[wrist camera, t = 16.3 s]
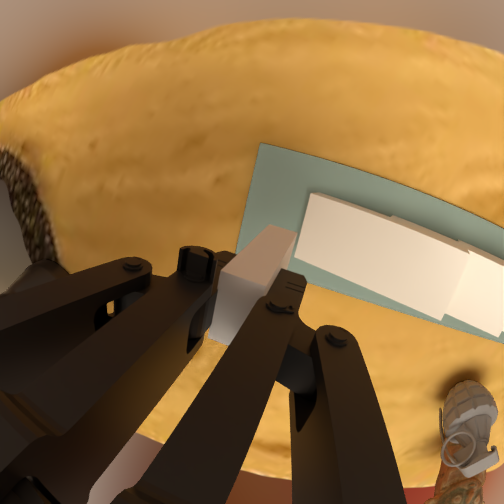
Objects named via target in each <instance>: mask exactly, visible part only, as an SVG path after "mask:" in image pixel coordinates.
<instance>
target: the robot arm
mask: <svg viewBox="0 0 504 504" xmlns="http://www.w3.org/2000/svg"><path fill="white" fill-rule="evenodd" d="M296 237H297V232H294V231H290V230H287V229H284V228H281V227H277V226H274V225H271V224H269V225H268V226H267V227H266V228H265V229H264V230H263V231H262V232H261V233H259V234H258V235H257V236H256V237H255V238H254V239H253V240H252V241H251V242H250V243H249V244H248V245H247V246H246V247H245V248H244V249H243V250H242V251H241V252H240V253H238V254H234V253H231V252H228V251H221V252H217V253H215V252H213V251H212V250H209V249H207V248H204V247H200V246H184V247H181V248H180V250H179V258H178V265H177V271H176V272H174V273H173V274H172V275H170V276H169V277H162V276H157V275H152V265H151V264H150V263H149V262H148V261H146V260H144V259H142V258H139V257H126V258H121V259H118V260H114V261H111V262H108V263H105V264H102V265H99V266H95V267H92V268H89V269H86V270H83V271H80V272H77V273H74V274H71V275H69V274H68V273H67V272H66V271H65V270H64V269H63V268H62V267H61V266H59V265H58V264H57V263H55V262H53V261H51V260H46V259H44V260H40V261H38V262H36V263H34V264H32V265H30V266H28V267H27V268H26V270H25V271H24V272H23V273H22V274H21V275H20V276H19V277H18V278H17V279H16V280H15V281H14V282H13V284H12V285H11V286H10V287H9V288H8V289H7V290H6V291H5V292H3V293H2V294H0V504H87V502H88V499H89V493H90V490H91V488H92V486H93V485H94V484H95V482H96V481H97V480H98V479H99V477H100V476H101V475H102V474H103V472H104V471H105V470H106V469H107V467H108V466H109V464H110V463H111V462H112V461H113V460H114V458H115V457H116V456H117V455H118V453H119V452H120V451H121V450H122V448H123V447H124V446H125V444H126V443H127V442H128V441H129V439H130V438H131V437H132V436H133V434H134V433H135V432H136V430H137V429H138V428H139V427H140V425H141V424H142V423H143V421H144V420H145V419H146V418H147V416H148V415H149V414H150V412H151V411H152V410H153V408H154V407H155V406H156V405H157V403H158V402H159V401H160V399H161V398H162V397H163V396H164V394H165V393H166V392H167V390H168V389H169V388H170V386H171V385H172V384H173V382H174V381H175V380H176V379H177V377H178V376H179V375H180V373H181V372H182V371H183V369H184V368H185V367H186V365H187V364H188V363H189V361H190V360H191V359H192V358H193V356H194V355H195V354H196V352H197V351H198V350H199V348H200V347H201V346H202V343H203V339H204V333H205V332H206V331H207V329H208V328H209V327H210V329H209V334H208V338H210V339H212V340H215V341H217V342H220V343H222V344H225V345H228V348H227V350H226V351H225V353H224V354H223V356H222V357H221V359H220V361H219V362H218V364H217V365H216V367H215V368H214V370H213V371H212V373H211V375H210V376H209V378H208V379H207V381H206V382H205V384H204V385H203V387H202V388H201V390H200V391H199V393H198V395H197V396H196V398H195V399H194V401H193V402H192V404H191V405H190V407H189V408H188V410H187V411H186V413H185V414H184V416H183V417H182V419H181V420H180V422H179V423H178V425H177V426H176V428H175V429H174V431H173V432H172V434H171V435H170V437H169V438H168V440H167V441H166V443H165V444H164V445H163V447H162V448H161V450H160V451H159V453H158V454H157V456H156V457H155V459H154V460H153V462H152V463H151V464H150V466H149V467H148V469H147V470H146V472H145V473H144V474H143V476H142V477H141V479H140V480H139V481H138V482H137V484H136V485H134V486H133V487H131V488H128V489H124V490H123V491H122V492H121V493H119V494H118V495H117V496H116V497H115V498H114V500H113V501H112V502H111V503H110V504H225V503H226V500H227V498H228V496H229V494H230V492H231V489H232V487H233V485H234V483H235V480H236V478H237V476H238V474H239V471H240V469H241V467H242V464H243V462H244V459H245V457H246V455H247V452H248V450H249V447H250V445H251V442H252V440H253V437H254V435H255V432H256V430H257V427H258V425H259V422H260V420H261V417H262V415H263V412H264V409H265V407H266V404H267V401H268V399H269V396H270V393H271V391H272V388H273V385H274V383H275V380H276V381H277V382H279V383H280V384H282V385H284V386H285V387H287V388H288V389H290V393H289V407H290V432H291V462H292V504H407V502H406V498H405V494H404V490H403V486H402V482H401V478H400V474H399V471H398V467H397V463H396V460H395V456H394V452H393V449H392V445H391V442H390V439H389V435H388V432H387V429H386V425H385V422H384V419H383V416H382V412H381V409H380V406H379V403H378V400H377V397H376V394H375V391H374V388H373V385H372V382H371V379H370V376H369V373H368V370H367V367H366V364H365V361H364V359H363V356H362V353H361V350H360V347H359V345H358V342H357V340H356V339H355V337H354V336H353V335H352V334H351V333H350V332H348V331H347V330H345V329H344V328H341V327H337V326H334V325H324V326H320V327H319V328H318V329H317V330H316V331H315V330H313V329H311V328H310V327H308V326H307V325H305V324H304V323H303V322H302V321H301V319H300V318H299V315H298V311H299V307H300V304H301V301H302V298H303V295H304V291H305V288H306V285H307V280H306V278H305V276H304V275H301V274H298V273H295V272H292V271H289V270H287V268H288V264H289V261H290V258H291V254H292V251H293V247H294V244H295V240H296ZM113 300H114V312H113V313H111V314H108V313H107V303H108V302H111V301H113Z"/></svg>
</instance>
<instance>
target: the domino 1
mask: <svg viewBox="0 0 504 504" xmlns="http://www.w3.org/2000/svg"><path fill="white" fill-rule="evenodd" d="M469 256H470V253H469V251H468V249H466V248H464V247H462V246H460V245H457V244H455V243H453V242H450V241H448V240H446V239H443V238H441V237H439V236H436V235H434V234H432V233H429V232H427V231H424V230H422V229H419V228H417V227H414V226H412V225H409V224H407V223H404V222H402V221H399V220H396V219H394V218H391V217H389V216H386V215H383V214H381V213H378V212H375V211H372V210H370V209H367V208H364V207H361V206H358V205H356V204H353V203H350V202H347V201H344V200H341V199H338V198H335V197H332V196H329V195H326V194H323V193H320V192H318V193H311V194H310V198H309V202H308V206H307V210H306V213H305V217H304V221H303V225H302V229H301V233H300V237H299V240H298V244H297V248H296V251H295V255H294V257H295V258H298V259H300V260H302V261H305V262H307V263H309V264H312V265H314V266H316V267H319V268H321V269H323V270H326V271H328V272H330V273H333V274H335V275H337V276H339V277H342V278H344V279H346V280H349V281H351V282H353V283H356V284H358V285H360V286H363V287H365V288H367V289H369V290H372V291H374V292H376V293H379V294H381V295H383V296H386V297H388V298H390V299H392V300H395V301H397V302H399V303H401V304H404V305H406V306H408V307H411V308H413V309H415V310H417V311H420V312H422V313H424V314H426V315H429V316H431V317H433V318H435V319H438V320H440V321H441V319H442V318H443V316H444V314H445V311H446V309H447V307H448V305H449V303H450V301H451V299H452V297H453V295H454V292H455V290H456V288H457V286H458V283H459V281H460V279H461V276H462V274H463V272H464V269H465V267H466V264H467V262H468V259H469Z"/></svg>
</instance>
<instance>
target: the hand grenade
mask: <svg viewBox="0 0 504 504" xmlns="http://www.w3.org/2000/svg"><path fill="white" fill-rule="evenodd" d="M497 415H498V410H497V406H496V403H495V401H494V398H493V396H492V395H491V393H490V392H489V391H488V390H487V389H486V388H485V387H484V386H482V385H481V384H480V383H478V382H476V381H472V380H464V381H463V382H459V383H457V384H456V386H455V387H452V389H451V390H450V391H449V393H448V396H447V398H446V401H445V403H444V407H443V427H444V433H445V436H446V438H447V439H446V441H445V440H444V435H443V428H442V409H441V408H439V427H440V435H441V440H442V443H443V446H442V448H441V459H442V461H443V462H444V464H446V465H447V466H450V467H457V468H458V469H459V470H460V471H461V472H462V474H463V475H464V476H465V477H467V478H470V477H472V476H474V475H476V474H478V473H480V472H482V471H484V470H486V469H488V468H490V467H491V466H493V465H495V464H496V463H498V462H499V456H498V452H497V448H496V446H491V450H492V451H490V452H488V450H487V444H488V442H489V436H490V429H491V426H492V425H493V424H494V423H495V421H496V419H497ZM448 441H450V442H452V443H456V444H457V443H460V444H461V446H462V447H463V449H461V450H460V451H458V452H456V453H454V454H453V455H454V457H455V459H456V460H457V461H456V460H454V459H453V458H452V457H451V456H450V454H449V452H448V449H447V447H446V444H447V442H448ZM444 449H445V451H446V453H447V455H448V457H449V459H450V460H451V462H452V463H453V464H452V463H449V462H447V461H446V459H445V457H444Z"/></svg>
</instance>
